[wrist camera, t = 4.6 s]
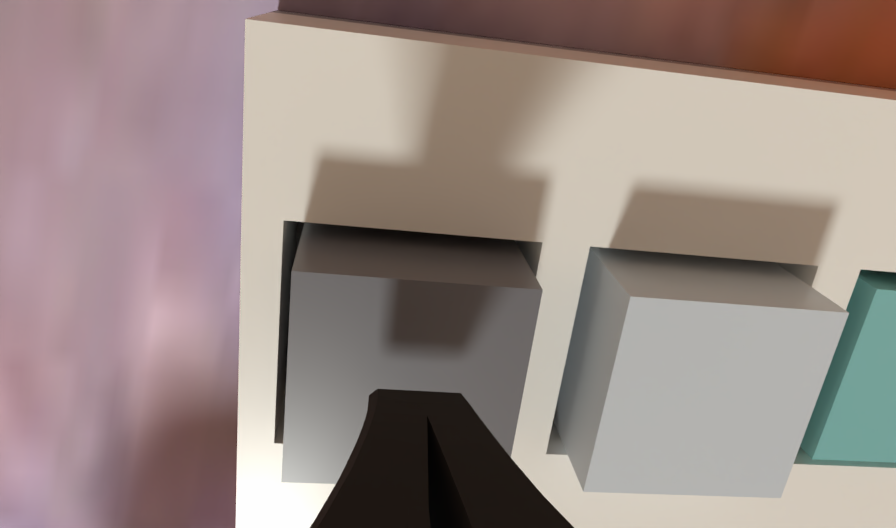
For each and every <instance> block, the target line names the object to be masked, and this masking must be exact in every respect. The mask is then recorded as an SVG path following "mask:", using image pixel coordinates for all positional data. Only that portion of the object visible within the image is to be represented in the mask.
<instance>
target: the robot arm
mask: <svg viewBox="0 0 896 528" xmlns="http://www.w3.org/2000/svg"><path fill="white" fill-rule="evenodd" d="M310 528H574V527H573V526H572V525H571V524H570V523H569V522H568V521H567V520H566V519H565V518H564V517H563V516H562V515H561V513H560V512H559V511H558V510H557V509H556V508H555V507H554V506H553V505H552V504H551V503H550V502H549V501H548V500H547V499H546V498H545V497H544V496H543V495H542V493H541V492H540V491H539V490H538V489H537V488H536V487H535V485H534V484H533V483H532V482H531V481H530V480H529V478H528V477H527V476H526V475H525V474H524V473H523V471H522V470H521V469H520V468H519V467H518V465H517V464H516V463H515V462H514V461H513V460H512V458H511V457H510V456H509V455H508V453H507V452H506V451H505V450H504V448H503V447H502V446H501V445H500V443H499V442H498V441H497V439H496V438H495V437H494V436H493V434H492V433H491V432H490V430H489V429H488V428H487V426H486V425H485V424H484V422H483V421H482V420H481V418H480V417H479V416H478V414H477V413H476V412H475V410H474V409H473V408H472V406H471V405H470V404H469V402H468V401H467V400H466V399H465V398H464V396H463V395H462V394H461V393H451V392H431V391H412V390H392V389H377V390H375V391H374V392H373V393H371V394H370V395H369V400H368V410H367V414H366V418H365V421H364V424H363V427H362V429H361V432H360V435H359V437H358V440H357V442H356V444H355V447H354V449H353V451H352V453H351V455H350V457H349V459H348V461H347V463H346V465H345V468H344V470H343V472H342V474H341V476H340V478H339V479H338V481H337V483H336V485H335V486H334V488H333V490H332V492H331V493H330V495H329V497H328V498H327V500H326V502H325V503H324V505H323V507H322V509H321V510H320V512H319V514H318V515H317V517H316V519H315V520H314V522H313V523H312V525H311V526H310Z"/></svg>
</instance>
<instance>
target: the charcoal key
mask: <svg viewBox="0 0 896 528" xmlns="http://www.w3.org/2000/svg"><path fill="white" fill-rule="evenodd" d="M542 292H543V289H542V288H541V286H540V284H539V282H538V281H537V279H536V277H535V275H534V274H533V272H532V270H531V268H530V267H529V265H528V263H527V261H526V259H525V258H524V256H523V254H522V252H521V251H520V249H519V247H518V245H517V244H516V242H515V240H509V239H497V238H485V237H473V236H462V235H450V234H438V233H426V232H415V231H403V230H391V229H379V228H368V227H356V226H344V225H332V224H321V223H309V222H305V223H304V227H303V231H302V234H301V238H300V241H299V245H298V249H297V252H296V256H295V260H294V263H293V267H292V271H291V290H290V311H289V332H288V353H287V374H286V395H285V416H284V437H283V458H282V479H281V482H290V483H321V484H336V483H337V481H338V479H339V478H340V476H341V474H342V472H343V470H344V468H345V465H346V463H347V461H348V459H349V457H350V455H351V453H352V451H353V449H354V447H355V444H356V442H357V440H358V437H359V435H360V432H361V429H362V427H363V424H364V421H365V418H366V414H367V410H368V400H369V395H370V394H371V393H373V392H374V391H375V390H377V389H392V390H412V391H431V392H451V393H461V394H462V395H463V396H464V398H465V399H466V400H467V401H468V402H469V404H470V405H471V406H472V408H473V409H474V410H475V412H476V413H477V414H478V416H479V417H480V418H481V420H482V421H483V422H484V424H485V425H486V426H487V428H488V429H489V430H490V432H491V433H492V434H493V436H494V437H495V438H496V439H497V441H498V442H499V443H500V445H501V446H502V447H503V448H504V450H505V451H506V452H507V453H508V455H509V456H510V457H511V454H512V449H513V443H514V438H515V433H516V428H517V422H518V417H519V412H520V407H521V402H522V396H523V391H524V386H525V381H526V375H527V370H528V365H529V360H530V354H531V349H532V344H533V339H534V333H535V328H536V323H537V318H538V312H539V307H540V302H541V297H542Z"/></svg>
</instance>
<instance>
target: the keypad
mask: <svg viewBox="0 0 896 528" xmlns="http://www.w3.org/2000/svg"><path fill="white" fill-rule="evenodd" d="M305 222H309V223H321V224H332V225H344V226H356V227H368V228H379V229H391V230H403V231H415V232H426V233H438V234H450V235H462V236H473V237H485V238H497V239H509V240H515V242H516V244H517V245H518V247H519V249H520V251H521V252H522V254H523V256H524V258H525V259H526V261H527V263H528V265H529V267H530V268H531V270H532V272H533V274H534V275H535V277H536V279H537V281H538V282H539V284H540V286H541V288H542V289H543V292H542V297H541V302H540V307H539V312H538V318H537V323H536V328H535V333H534V339H533V344H532V349H531V354H530V360H529V365H528V370H527V375H526V381H525V386H524V391H523V396H522V402H521V407H520V412H519V417H518V422H517V428H516V433H515V438H514V443H513V449H512V454H511V458H512V460H513V461H514V462H515V463H516V464H517V465H518V467H519V468H520V469H521V470H522V471H523V473H524V474H525V475H526V476H527V477H528V478H529V480H530V481H531V482H532V483H533V484H534V485H535V487H536V488H537V489H538V490H539V491H540V492H541V493H542V495H543V496H544V497H545V498H546V499H547V500H548V501H549V502H550V503H551V504H552V505H553V506H554V507H555V508H556V509H557V510H558V511H559V512H560V513H561V515H562V516H563V517H564V518H565V519H566V520H567V521H568V522H569V523H570V524H571V525H572V526H573V527H574V528H896V463H889V462H865V461H840V460H816V459H811V458H810V456H809V455H808V454H807V453H806V452H805V451H804V450H803V449H802V448H801V447H799V450H798V453H797V456H796V458H795V461H794V464H793V466H792V469H791V472H790V474H789V477H788V480H787V483H786V485H785V488H784V491H783V493H782V496H781V498H761V497H729V496H698V495H666V494H635V493H604V492H583V490H582V487H581V485H580V483H579V480H578V478H577V476H576V473H575V471H574V468H573V466H572V464H571V461H570V459H569V457H568V454H567V452H566V450H565V447H564V445H563V442H562V440H561V438H560V435H559V433H558V431H557V428H556V426H555V424H554V421H553V419H554V414H555V409H556V405H557V400H558V395H559V390H560V386H561V381H562V376H563V372H564V367H565V362H566V357H567V353H568V348H569V343H570V339H571V334H572V329H573V325H574V320H575V315H576V310H577V306H578V301H579V296H580V292H581V287H582V282H583V278H584V273H585V268H586V263H587V259H588V254H589V249H590V246H591V247H603V248H614V249H626V250H638V251H650V252H661V253H673V254H685V255H697V256H708V257H720V258H732V259H744V260H755V261H767V262H775V263H777V264H778V265H780V266H781V267H783V268H784V269H786V270H787V271H789V272H790V273H792V274H793V275H795V276H796V277H797V278H799V279H800V280H802V281H803V282H805V283H806V284H808V285H809V286H811V287H812V288H814V289H815V290H817V291H818V292H819V293H821V294H822V295H824V296H825V297H827V298H828V299H830V300H831V301H833V302H834V303H836V304H837V305H839V306H840V307H841V308H843V309H844V310H846V308H847V306H848V303H849V300H850V298H851V295H852V292H853V289H854V287H855V284H856V281H857V278H858V276H859V273H860V270H873V271H885V272H896V89H890V88H882V87H874V86H866V85H858V84H851V83H843V82H835V81H827V80H819V79H811V78H804V77H796V76H788V75H780V74H772V73H764V72H756V71H749V70H741V69H733V68H725V67H717V66H709V65H702V64H694V63H686V62H678V61H670V60H662V59H655V58H647V57H639V56H631V55H623V54H615V53H607V52H600V51H592V50H584V49H576V48H568V47H560V46H553V45H545V44H537V43H529V42H521V41H513V40H506V39H498V38H490V37H482V36H474V35H466V34H458V33H451V32H443V31H435V30H427V29H419V28H411V27H404V26H396V25H388V24H380V23H372V22H364V21H357V20H349V19H341V18H333V17H325V16H317V15H310V14H302V13H294V12H286V11H278V10H277V11H273V12H269V13H266V14H262V15H258V16H255V17H251V18H247V19H245V59H244V112H243V164H242V217H241V269H240V322H239V374H238V427H237V479H236V528H310V526H311V525H312V523H313V522H314V520H315V519H316V517H317V515H318V514H319V512H320V510H321V509H322V507H323V505H324V503H325V502H326V500H327V498H328V497H329V495H330V493H331V492H332V490H333V488H334V486H335V485H336V484H321V483H290V482H281V479H282V458H283V437H284V416H285V395H286V374H287V353H288V332H289V311H290V290H291V271H292V267H293V263H294V260H295V256H296V252H297V249H298V245H299V241H300V238H301V234H302V231H303V227H304V223H305Z"/></svg>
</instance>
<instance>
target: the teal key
mask: <svg viewBox="0 0 896 528" xmlns="http://www.w3.org/2000/svg"><path fill="white" fill-rule="evenodd" d="M846 311H847V312H849V315H848V318H847V320H846V323H845V326H844V328H843V331H842V334H841V337H840V339H839V342H838V345H837V347H836V350H835V353H834V355H833V358H832V361H831V364H830V366H829V369H828V372H827V374H826V377H825V380H824V383H823V385H822V388H821V391H820V393H819V396H818V399H817V401H816V404H815V407H814V410H813V412H812V415H811V418H810V420H809V423H808V426H807V429H806V431H805V434H804V437H803V439H802V442H801V445H800V447H801V448H802V449H803V450H804V451H805V452H806V453H807V454H808V455H809V456H810V458H811V459H816V460H840V461H865V462H889V463H896V272H885V271H873V270H860V273H859V276H858V278H857V281H856V284H855V287H854V289H853V292H852V295H851V298H850V300H849V303H848V306H847V308H846Z"/></svg>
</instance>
